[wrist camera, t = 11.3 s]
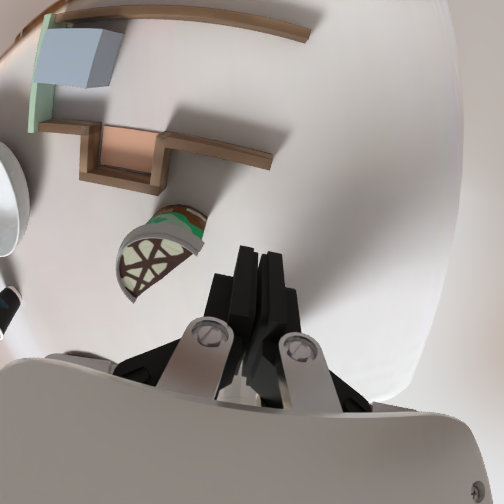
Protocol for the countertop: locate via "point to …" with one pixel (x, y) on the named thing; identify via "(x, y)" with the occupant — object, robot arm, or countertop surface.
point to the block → (77, 57)
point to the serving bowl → (12, 202)
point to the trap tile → (128, 148)
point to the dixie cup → (8, 307)
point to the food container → (158, 248)
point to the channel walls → (166, 139)
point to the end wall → (42, 85)
